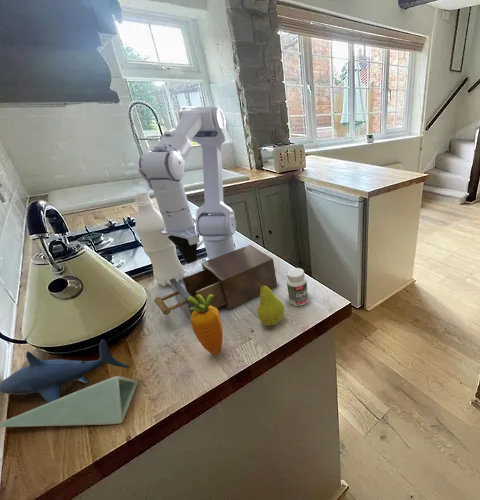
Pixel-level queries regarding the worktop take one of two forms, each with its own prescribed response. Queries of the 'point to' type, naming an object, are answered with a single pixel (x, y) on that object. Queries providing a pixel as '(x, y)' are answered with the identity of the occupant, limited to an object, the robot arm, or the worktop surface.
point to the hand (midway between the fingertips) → (191, 261)
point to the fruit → (269, 307)
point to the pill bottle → (297, 287)
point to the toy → (53, 374)
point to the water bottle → (157, 241)
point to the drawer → (194, 292)
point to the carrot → (207, 324)
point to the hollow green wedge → (82, 406)
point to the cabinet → (242, 274)
